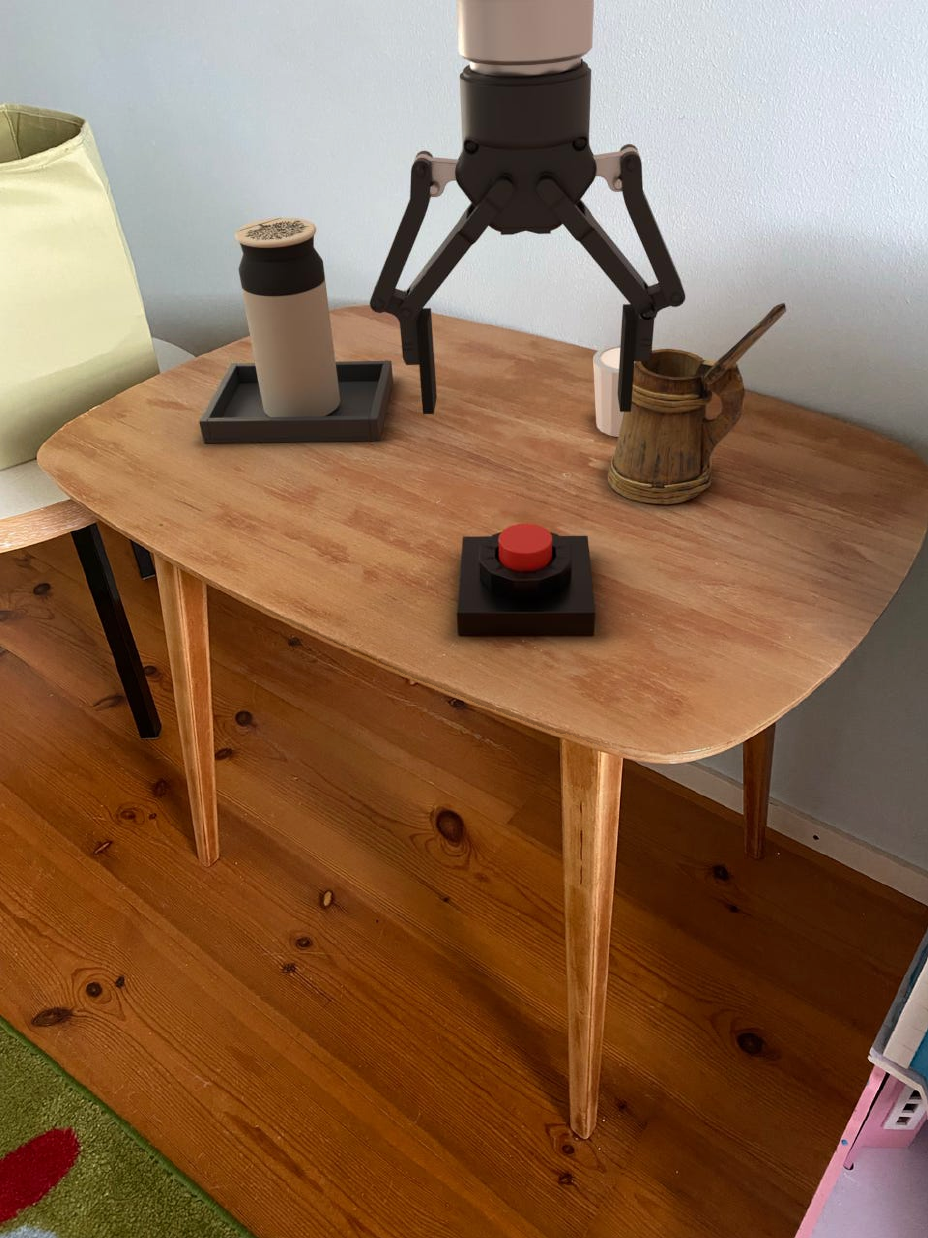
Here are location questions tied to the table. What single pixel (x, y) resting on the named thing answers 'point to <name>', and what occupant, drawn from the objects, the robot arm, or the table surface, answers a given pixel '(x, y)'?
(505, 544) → the button
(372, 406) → the tray
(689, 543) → the table surface
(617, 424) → the white cup
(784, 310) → the wooden mug
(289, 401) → the travel mug
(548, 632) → the control block
